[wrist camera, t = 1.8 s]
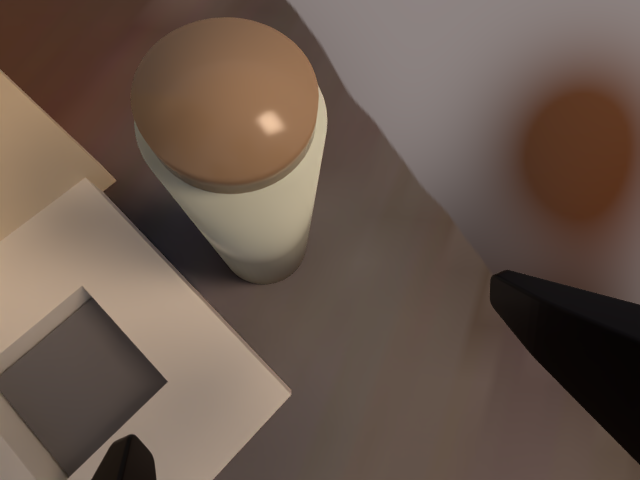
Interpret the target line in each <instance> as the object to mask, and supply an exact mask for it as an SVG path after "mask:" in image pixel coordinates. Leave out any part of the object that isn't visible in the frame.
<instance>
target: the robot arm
mask: <svg viewBox="0 0 640 480" xmlns="http://www.w3.org/2000/svg"><path fill="white" fill-rule="evenodd" d="M490 302H491V304H492V306H493V308H494V309H495V311H496V312H497V313H498V314H499V316H500V317H501V318H502V319H503V320H504V322H505V323H506V324H507V325H508V327H509V328H510V329H511V330H512V332H513V333H514V334H515V335H516V337H517V338H518V339H519V340H520V341H521V343H522V344H523V345H524V346H525V348H526V349H527V350H528V351H529V352H530V353H531V355H532V356H533V357H534V358H535V359H536V360H537V361H538V362H539V363H540V364H541V365H542V366H543V367H544V368H545V369H546V370H547V371H548V372H549V373H550V374H551V375H552V376H553V377H554V378H555V379H556V380H557V381H558V382H559V383H560V384H561V385H562V386H563V388H564V389H565V390H566V391H567V392H568V393H569V394H570V395H571V396H572V397H573V398H574V399H575V400H576V401H577V402H578V403H579V404H580V405H581V406H582V407H583V408H584V409H585V410H586V411H587V412H588V413H589V414H590V415H591V416H592V417H593V418H594V419H595V420H596V421H597V422H598V423H599V424H600V425H601V426H602V427H603V428H604V429H605V430H606V431H607V432H608V433H609V434H610V435H611V436H612V437H613V438H614V439H615V440H616V441H617V442H618V443H619V444H620V445H621V446H622V447H623V448H624V449H625V450H626V451H627V452H628V453H629V454H630V455H631V456H632V457H633V458H634V459H635V460H636V461H637V462H638V464H639V465H640V305H639V304H635V303H631V302H627V301H624V300H620V299H616V298H612V297H609V296H605V295H601V294H597V293H593V292H589V291H586V290H582V289H579V288H574V287H571V286H567V285H563V284H559V283H556V282H552V281H548V280H544V279H540V278H537V277H533V276H529V275H526V274H522V273H518V272H514V271H510V270H504V271H501V272H499V273H497V274H494V275H493V276H492V277H491V280H490ZM91 480H157V479H156V470H155V462H154V458H153V455H152V453H151V452H150V451H149V449H148V448H147V447H146V446H145V445H144V444H143V443H142V441H141V440H140V439H139V438H138V437H137V436H136V435H134V434H129V435H127V436H125V437H122V438H120V439H118V440H116V441H114V442H113V443H112V444H111V445H110V447H109V449H108V451H107V452H106V454H105V456H104V458H103V459H102V461H101V463H100V465H99V466H98V468H97V470H96V472H95V473H94V475H93V477H92V479H91Z"/></svg>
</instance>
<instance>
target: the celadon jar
mask: <svg viewBox="0 0 640 480" xmlns="http://www.w3.org/2000/svg"><path fill="white" fill-rule="evenodd" d="M131 108H132V113H133V117H134V120H135V121H134V126H135V136H136V140H137V144H138V147H139V149H140V152H141V154H142V156H143V158H144V160H145V161H146V163H147V165H148V166H149V168H150V169H151V170H152V171H153V173H154V174H155V175H156V176H157V178H158V179H159V180H160V181H161V183H162V184H163V185H164V186H165V188H166V189H167V190H168V191H169V193H170V194H171V195H172V196H173V198H174V199H175V200H176V201H177V203H178V204H179V205H180V206H181V208H182V209H183V210H184V211H185V213H186V214H187V215H188V216H189V218H190V219H191V220H192V221H193V223H194V224H195V225H196V226H197V228H198V229H199V230H200V231H201V233H202V234H203V235H204V236H205V238H206V239H207V240H208V241H209V243H210V244H211V245H212V246H213V248H214V249H215V250H216V251H217V253H218V254H219V255H220V256H221V258H222V259H223V260H224V261H225V263H226V264H227V265H228V266H229V268H230V269H231V270H232V271H233V272H234V273H235V274H236V275H237V276H239V277H240V278H242V279H243V280H245V281H248V282H251V283H255V284H272V283H276V282H279V281H282V280H284V279H286V278H287V277H289V276H290V275H291V274H292V273H294V272H295V271H296V269H297V268H298V267H299V266H300V264H301V262H302V260H303V258H304V255H305V252H306V247H307V241H308V235H309V229H310V224H311V218H312V212H313V206H314V200H315V195H316V189H317V183H318V177H319V172H320V166H321V160H322V154H323V148H324V143H325V137H326V131H327V112H326V106H325V102H324V98H323V96H322V93H321V91H320V88H319V87H318V84H317V79H316V75H315V73H314V71H313V68H312V66H311V64H310V62H309V61H308V59H307V57H306V56H305V55H304V53H303V52H302V51H301V49H300V48H299V47H298V46H297V45H296V44H295V43H294V42H293V41H291V40H290V39H289V38H288V37H286V36H285V35H284V34H282V33H280V32H279V31H277V30H275V29H273V28H271V27H269V26H267V25H264V24H261V23H258V22H255V21H251V20H246V19H241V18H210V19H205V20H200V21H196V22H193V23H190V24H187V25H184V26H182V27H180V28H178V29H176V30H174V31H172V32H171V33H169V34H167V35H166V36H164V37H163V38H162V39H161V40H159V41H158V42H157V43H156V44H155V45H154V46H153V47H152V48H151V49H150V50H149V51H148V52H147V54H146V55H145V56H144V58H143V59H142V61H141V63H140V64H139V66H138V68H137V70H136V73H135V76H134V78H133V83H132V88H131Z"/></svg>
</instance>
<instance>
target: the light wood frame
mask: <svg viewBox="0 0 640 480" xmlns="http://www.w3.org/2000/svg"><path fill="white" fill-rule="evenodd" d="M115 182H116V180H115V179H114V178H113V176H112V175H111V174H110V173H109V172H108V171H107V170H106V169H105V168H104V167H103V166H102V165H101V164H100V163H99V162H98V161H97V160H96V159H95V158H94V157H93V156H91V155H90V154H89V153H88V152H87V151H86V150H85V149H84V148H83V147H82V146H81V145H80V144H79V143H78V142H77V141H76V140H75V139H73V138H72V137H71V136H70V135H69V134H68V133H67V132H66V131H65V130H64V129H63V128H62V127H61V126H60V125H59V124H58V123H56V122H55V121H54V120H53V119H52V118H51V117H50V116H49V115H48V114H47V113H46V112H45V111H44V110H43V109H42V108H41V107H40V106H38V105H37V104H36V103H35V102H34V101H33V100H32V99H31V98H30V97H29V96H28V95H27V94H26V93H25V92H24V91H23V90H22V89H20V88H19V87H18V86H17V85H16V84H15V83H14V82H13V81H12V80H11V79H10V78H9V77H8V76H7V75H6V74H5V73H4V72H2V71H1V70H0V480H91V479H92V477H93V475H94V473H95V472H96V470H97V468H98V466H99V465H100V463H101V461H102V459H103V458H104V456H105V454H106V452H107V451H108V449H109V447H110V445H111V444H112V443H113V442H114V441H116V440H118V439H120V438H122V437H125V436H127V435H129V434H134V435H136V436H137V437H138V438H139V439H140V440H141V441H142V443H143V444H144V445H145V446H146V447H147V448H148V449H149V451H150V452H151V453H152V455H153V458H154V462H155V470H156V479H157V480H213V479H214V478H215V477H216V476H217V475H218V473H219V472H220V471H221V470H222V469H223V468H224V467H225V466H226V465H227V464H228V463H229V462H230V460H231V459H232V458H233V457H234V456H235V455H236V454H237V453H238V452H239V451H240V450H241V449H242V447H243V446H244V445H245V444H246V443H247V442H248V441H249V440H250V439H251V438H252V437H253V436H254V434H255V433H256V432H257V431H258V430H259V429H260V428H261V427H262V426H263V425H264V424H265V423H266V421H267V420H268V419H269V418H270V417H271V416H272V415H273V414H274V413H275V412H276V411H277V410H278V408H279V407H280V406H281V405H282V404H283V403H284V402H285V401H286V400H287V399H288V398H289V396H290V395H291V389H290V388H289V387H288V386H287V385H286V384H285V383H284V382H283V381H282V380H281V379H280V378H279V377H278V375H277V374H276V373H275V372H274V371H273V370H272V369H271V368H270V367H269V366H268V365H267V364H266V363H265V362H264V361H263V360H262V359H261V358H260V356H259V355H258V354H257V353H256V352H255V351H254V350H253V349H252V348H251V347H250V346H249V345H248V344H247V343H246V342H245V341H244V340H243V339H242V338H241V336H240V335H239V334H238V333H237V332H236V331H235V330H234V329H233V328H232V327H231V326H230V325H229V324H228V323H227V322H226V321H225V320H224V319H223V318H222V316H221V315H220V314H219V313H218V312H217V311H216V310H215V309H214V308H213V307H212V306H211V305H210V304H209V303H208V302H207V301H206V300H205V299H204V298H203V296H202V295H201V294H200V293H199V292H198V291H197V290H196V289H195V288H194V287H193V286H192V285H191V284H190V283H189V282H188V281H187V280H186V279H185V277H184V276H183V275H182V274H181V273H180V272H179V271H178V270H177V269H176V268H175V267H174V266H173V265H172V264H171V263H170V262H169V261H168V260H167V259H166V257H165V256H164V255H163V254H162V253H161V252H160V251H159V250H158V249H157V248H156V247H155V246H154V245H153V244H152V243H151V242H150V241H149V240H148V239H147V237H146V236H145V235H144V234H143V233H142V232H141V231H140V230H139V229H138V228H137V227H136V226H135V225H134V224H133V223H132V222H131V221H130V220H129V218H128V217H127V216H126V215H125V214H124V213H123V212H122V211H121V210H120V209H119V208H118V207H117V206H116V205H115V204H114V203H113V202H112V201H111V200H110V198H109V197H108V196H107V195H106V194H105V193H104V192H103V191H104V190H106V189H107V188H108V187H110V186H111V185H112V184H113V183H115Z"/></svg>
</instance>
